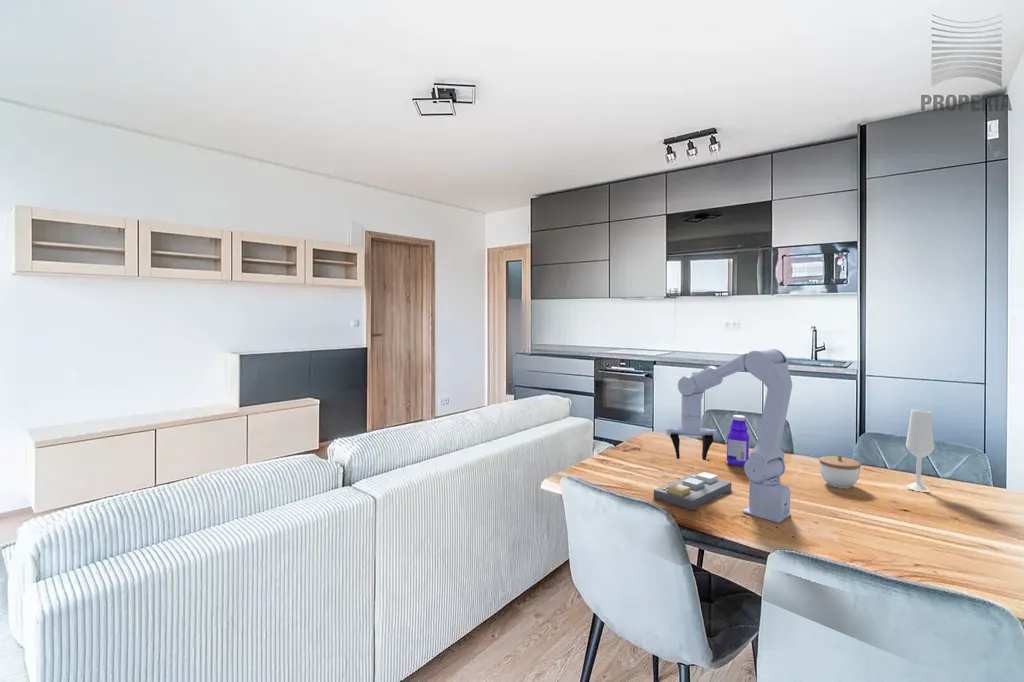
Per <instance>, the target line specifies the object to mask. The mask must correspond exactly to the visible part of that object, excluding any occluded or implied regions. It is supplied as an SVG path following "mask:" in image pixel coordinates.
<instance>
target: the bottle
mask: <svg viewBox="0 0 1024 682" xmlns="http://www.w3.org/2000/svg"><path fill="white" fill-rule="evenodd" d="M729 429H730V430H729V431H728V434H727V437H726V440H727V442H726V462H727V464H729V465H733V466H737V467H738V466H739V467H744V465H745V463H746V461H747V460H748V459H749V457H750V441H751V440H750V439H751V438H750V435H749V433H748V427H747V424H746V416H745V415H742V414H733V415H732V421H731V424H730V426H729Z"/></svg>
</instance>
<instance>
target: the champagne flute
mask: <svg viewBox="0 0 1024 682" xmlns="http://www.w3.org/2000/svg"><path fill="white" fill-rule="evenodd" d="M908 423H909V424H908V429H907V436H906V441H905V447H906V449H907V450H908V452H909V453H910V454H912V455H913V456H914V457H915V458H916V465H915V466H916V468H915V469H916V470H915V471H916V472H915V482H913V483H910V484H906V485H907V486H908V487H910V488H913V489H916V490H922V491H923V490H925V491H926V490H929V489H930V488H929V487H927V486H926V485H924V484H923V483H922V482H921V481H922V461H923V458H926V457H927V456H929V455H930V454H932V453H933V451H934V450H935V444H934V442H935V441H934V432H933V431H934V428H933V415H932V411H930V410H925V409H911V410H910V417H909V422H908Z"/></svg>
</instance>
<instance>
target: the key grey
mask: <svg viewBox="0 0 1024 682" xmlns="http://www.w3.org/2000/svg"><path fill="white" fill-rule="evenodd" d="M683 486H687V487H690V488H691V489H694V490H699V489H701V488H703V487H704V481H702V480H698V479H694V478H688V479H686V480H683Z"/></svg>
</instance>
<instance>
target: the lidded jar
mask: <svg viewBox="0 0 1024 682" xmlns="http://www.w3.org/2000/svg"><path fill="white" fill-rule="evenodd" d="M861 467H862V466H861V463H860V461H857V460H855V459H853V458H852V459H851V458H848V457H843V455H840V454H839V455H837V456H835V455H829V456H821V457H820V458H819V471H820V474H821V477H822V479H823V480H824V481H825V482H826V483H828V484H829V485H828V484H827V485H828V486H830V485H831V486H830V487H832V486H834V487H833V488H836V487H838V488H837V489H843V488H847V489H851V487H852V486H854V485H855V484H856V483H857V482H858V480H859V477H860V474H861Z"/></svg>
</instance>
